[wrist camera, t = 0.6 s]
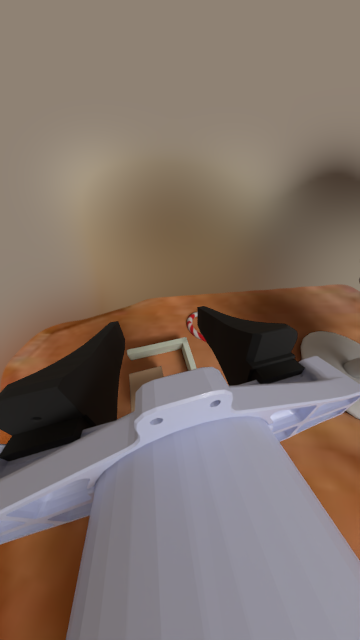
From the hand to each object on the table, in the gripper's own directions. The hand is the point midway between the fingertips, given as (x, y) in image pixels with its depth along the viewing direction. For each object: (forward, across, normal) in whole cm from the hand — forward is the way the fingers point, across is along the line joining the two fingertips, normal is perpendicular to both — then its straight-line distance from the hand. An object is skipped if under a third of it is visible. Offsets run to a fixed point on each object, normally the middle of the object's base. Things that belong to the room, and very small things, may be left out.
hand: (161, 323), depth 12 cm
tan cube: (+4, +4, +16) cm, 17 cm away
